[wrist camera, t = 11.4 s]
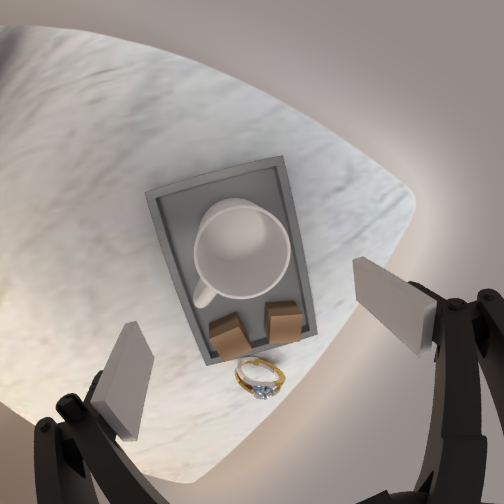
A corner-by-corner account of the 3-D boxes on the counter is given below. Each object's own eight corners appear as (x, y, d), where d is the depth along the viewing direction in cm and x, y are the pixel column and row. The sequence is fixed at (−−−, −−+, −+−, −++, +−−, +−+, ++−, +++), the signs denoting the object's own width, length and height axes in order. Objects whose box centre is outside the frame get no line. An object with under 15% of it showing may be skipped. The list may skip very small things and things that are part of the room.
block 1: (208, 323, 36) (208, 339, 32) (235, 311, 36) (238, 326, 32) (222, 344, 37) (223, 362, 33) (248, 333, 37) (252, 350, 33)
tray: (149, 191, 31) (144, 192, 29) (277, 156, 32) (282, 155, 30) (206, 355, 38) (206, 365, 36) (311, 325, 39) (317, 334, 37)
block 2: (264, 302, 36) (270, 316, 32) (294, 300, 37) (303, 314, 33) (263, 328, 37) (269, 344, 33) (291, 326, 38) (299, 341, 34)
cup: (281, 223, 34) (309, 242, 24) (224, 299, 35) (230, 343, 25) (225, 183, 31) (231, 185, 22) (169, 265, 33) (154, 299, 23)
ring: (230, 361, 39) (235, 397, 31) (238, 344, 38) (245, 380, 31) (272, 371, 40) (283, 406, 33) (281, 356, 40) (294, 390, 32)
